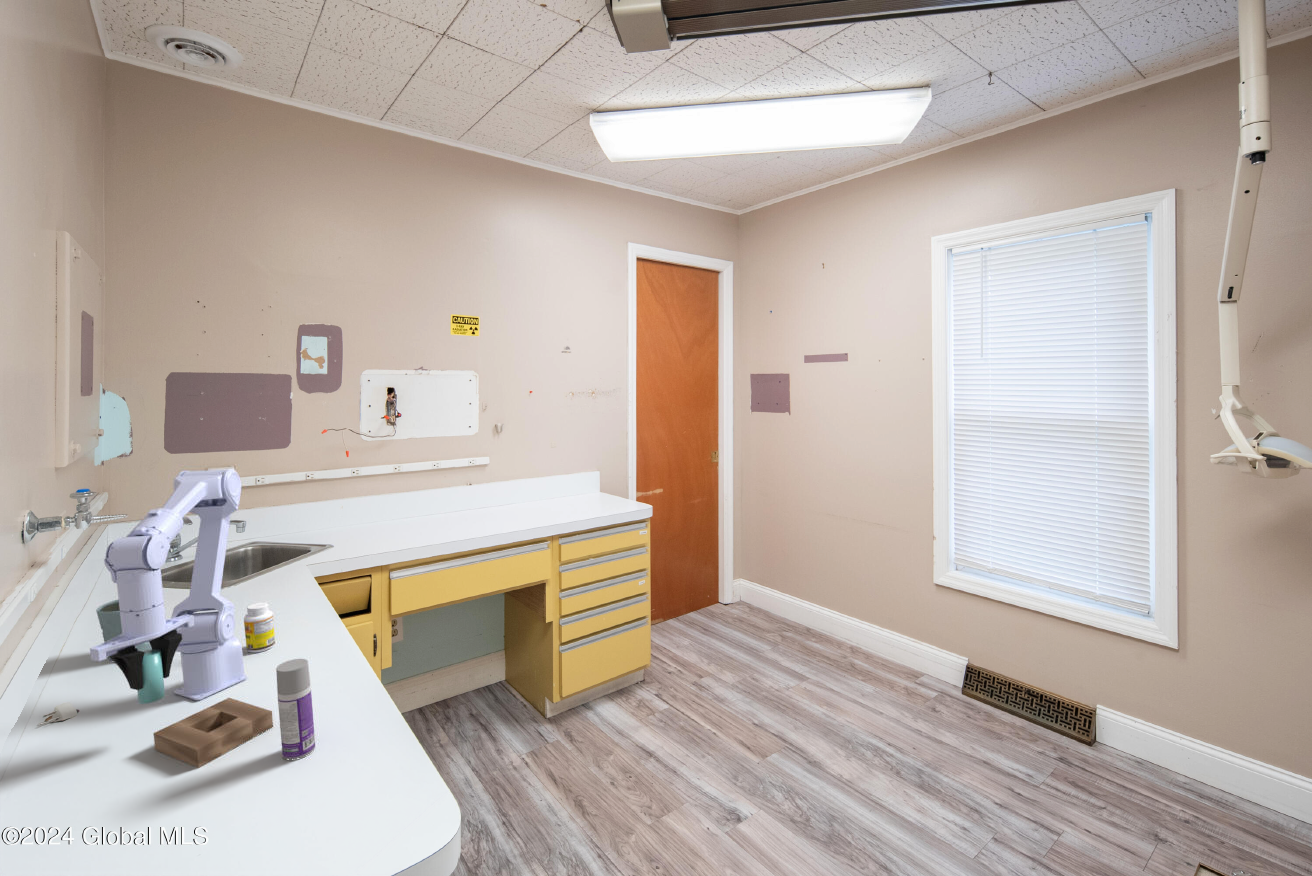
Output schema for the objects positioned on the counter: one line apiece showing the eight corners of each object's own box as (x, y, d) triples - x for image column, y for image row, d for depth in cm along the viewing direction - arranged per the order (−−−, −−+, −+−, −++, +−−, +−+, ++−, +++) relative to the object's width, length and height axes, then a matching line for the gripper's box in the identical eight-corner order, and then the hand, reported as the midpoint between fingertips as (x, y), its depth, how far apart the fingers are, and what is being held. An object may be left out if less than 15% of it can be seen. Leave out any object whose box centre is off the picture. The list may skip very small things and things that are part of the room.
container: (310, 739, 102) (304, 655, 101) (319, 751, 99) (312, 664, 97) (279, 751, 99) (272, 665, 98) (286, 764, 96) (279, 674, 94)
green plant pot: (172, 644, 141) (167, 595, 139) (131, 665, 131) (125, 612, 129) (133, 643, 142) (128, 594, 140) (89, 663, 132) (83, 611, 130)
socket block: (230, 712, 111) (229, 697, 111) (273, 727, 106) (271, 711, 106) (155, 750, 100) (153, 733, 100) (199, 767, 95) (197, 749, 95)
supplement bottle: (246, 647, 139) (242, 604, 138) (274, 640, 142) (271, 599, 141) (246, 656, 134) (243, 612, 133) (276, 649, 137) (272, 606, 136)
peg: (157, 691, 105) (152, 647, 104) (169, 695, 104) (165, 650, 103) (133, 701, 102) (129, 656, 101) (146, 705, 101) (141, 659, 100)
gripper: (171, 589, 110) (179, 660, 111) (74, 619, 96) (83, 700, 97) (199, 592, 107) (206, 665, 109) (103, 624, 94) (112, 707, 95)
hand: (150, 682), depth 103 cm, fingers closed on peg, 3 cm apart
